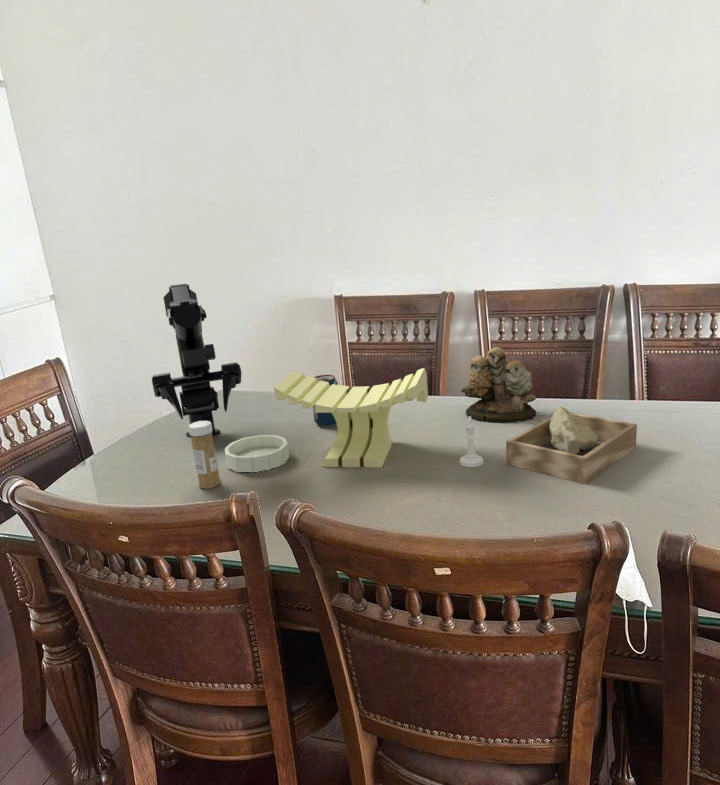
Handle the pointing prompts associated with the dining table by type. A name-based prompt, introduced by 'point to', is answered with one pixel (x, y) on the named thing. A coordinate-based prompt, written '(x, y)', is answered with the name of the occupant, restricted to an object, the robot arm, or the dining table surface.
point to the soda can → (325, 418)
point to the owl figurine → (499, 389)
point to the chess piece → (471, 448)
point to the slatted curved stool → (354, 413)
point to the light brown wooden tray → (565, 465)
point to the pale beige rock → (570, 433)
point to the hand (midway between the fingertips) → (204, 414)
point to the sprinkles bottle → (204, 454)
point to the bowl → (256, 453)
